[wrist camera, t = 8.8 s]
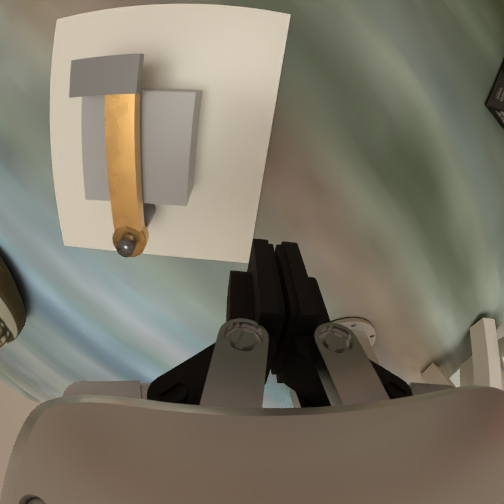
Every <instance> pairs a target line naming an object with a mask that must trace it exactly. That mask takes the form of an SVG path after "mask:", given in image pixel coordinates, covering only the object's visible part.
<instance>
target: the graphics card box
mask: <svg viewBox="0 0 504 504" xmlns="http://www.w3.org/2000/svg"><path fill="white" fill-rule="evenodd" d="M487 107H488V108H489V109H490V110H491V112H492V113H493V114H494V116H495V117H496V118H497V119H498V121H499V122H500V124H501V125H502V127H503V128H504V63H503V66H502V69H501V71H500V74H499V76H498V79H497V81H496V84H495V86H494V89H493V91H492V93H491V96H490V98H489V100H488V103H487Z"/></svg>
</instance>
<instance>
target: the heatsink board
mask: <svg viewBox="0 0 504 504" xmlns="http://www.w3.org/2000/svg"><path fill="white" fill-rule="evenodd" d="M289 21H290V14H285V13H280V12H274V11H268V10H261V9H254V8H246V7H237V6H226V5H210V4H156V5H141V6H130V7H121V8H113V9H106V10H100V11H94V12H88V13H83V14H78V15H73V16H69V17H65V18H61V19H57V24H56V30H55V38H54V46H53V55H52V67H51V83H50V137H51V155H52V167H53V177H54V186H55V194H56V201H57V208H58V214H59V220H60V225H61V231H62V236H63V241H64V246H74V247H83V248H93V249H103V250H113V251H117V249H116V248H115V247H114V244H113V240H112V238H113V234H114V225H113V217H112V210H111V202H110V193H109V183H108V171H107V158H106V140H105V95H113V94H138V93H141V95H140V156H141V181H142V198H143V212H144V224H145V226H146V227H147V229H148V232H149V239H148V242H147V244H146V246H145V249H144V251H143V252H142V253H144V254H154V255H165V256H175V257H186V258H197V259H208V260H219V261H231V262H242V263H249V258H250V252H251V246H252V240H253V234H254V228H255V222H256V216H257V210H258V204H259V198H260V192H261V186H262V180H263V174H264V168H265V163H266V157H267V151H268V145H269V139H270V133H271V127H272V121H273V115H274V109H275V103H276V98H277V92H278V86H279V80H280V74H281V68H282V62H283V56H284V51H285V45H286V39H287V33H288V27H289Z"/></svg>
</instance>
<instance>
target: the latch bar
mask: <svg viewBox="0 0 504 504" xmlns="http://www.w3.org/2000/svg"><path fill="white" fill-rule="evenodd" d="M140 95H141V93H138V94H113V95H105V140H106V158H107V171H108V183H109V193H110V202H111V210H112V217H113V225H114V234H113V238H112V240H113V244H114V247H115V248H116V249H117V252H118V253H119V254H120V255H121V256H123V257H135V256H138V255H140V254H141V253H142V252H143V251H144V249H145V246H146V244H147V242H148V239H149V232H148V229H147V227H146V226H145V224H144V212H143V198H142V181H141V156H140Z"/></svg>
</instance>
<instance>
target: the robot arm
mask: <svg viewBox="0 0 504 504" xmlns="http://www.w3.org/2000/svg"><path fill="white" fill-rule="evenodd" d="M375 340H376V332H375V329H374V327H373V325H372V324H371V323H370V322H369V321H366V320H364V319H360V318H345V319H341V320H337V321H334V322H330V319H329V316H328V313H327V310H326V307H325V304H324V301H323V298H322V295H321V292H320V289H319V286H318V283H317V281H316V279H315V278H314V277H308V275H307V272H306V269H305V265H304V262H303V259H302V256H301V253H300V250H299V247H298V244H297V243H293V242H282V243H281V245H276V248H275V252H274V247H273V244H268V240H263V239H253V240H252V246H251V252H250V258H249V265H248V271H247V272H242V271H230V277H229V286H228V296H227V315H226V323H224V324H223V325H222V326H221V328H220V330H219V333H218V336H217V340H216V342H215V343H214V344H212V345H211V346H209V347H207V348H206V349H204V350H203V351H201V352H199V353H198V354H196V355H194V356H193V357H191V358H190V359H188V360H186V361H185V362H183V363H181V364H180V365H178V366H176V367H175V368H173V369H171V370H170V371H168V372H166V373H165V374H163V375H161V376H160V377H158V378H157V379H155V380H154V381H153V382H152V383H143V384H141V383H140V381H80V382H75V383H73V384H71V385H69V386H68V387H67V389H66V390H65V391H64V394H63V397H59V398H55V399H52V400H48V401H46V402H44V403H41V404H40V405H39V406H37V407H36V408H35V409H34V410H33V411H32V412H31V413H30V414H29V416H28V417H27V419H26V420H25V422H24V424H23V426H22V428H21V430H20V432H19V434H18V437H17V439H16V442H15V445H14V447H13V450H12V453H11V456H10V459H9V463H8V467H7V470H6V474H5V478H4V483H3V488H2V494H1V500H0V504H504V391H503V390H501V389H498V388H495V387H490V386H479V385H473V386H462V387H457V388H455V387H453V386H450V385H439V384H425V383H413V382H410V384H409V385H408V384H407V383H406V382H405V381H403V380H402V379H401V378H399V377H397V376H396V375H394V374H392V373H391V372H389V371H388V370H386V369H384V368H383V367H381V366H380V365H379V363H378V361H377V358H376V356H375V353H374V351H373V348H372V346H373V345H374V343H375ZM270 369H271V373H272V374H276V376H277V383H284V384H285V385H287V386H288V387H290V388H291V390H290V396H291V399H292V402H293V405H294V408H262V403H263V394H264V385H265V384H266V381H267V378H268V375H269V372H270Z"/></svg>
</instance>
